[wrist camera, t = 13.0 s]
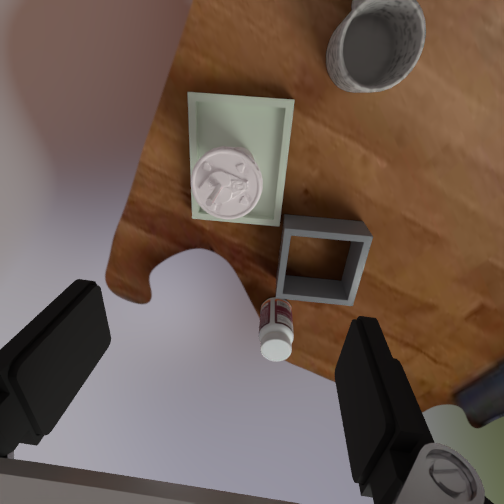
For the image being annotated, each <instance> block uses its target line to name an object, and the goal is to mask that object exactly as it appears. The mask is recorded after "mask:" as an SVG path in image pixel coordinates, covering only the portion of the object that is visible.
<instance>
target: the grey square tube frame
mask: <svg viewBox="0 0 504 504" xmlns="http://www.w3.org/2000/svg"><path fill="white" fill-rule="evenodd" d="M291 235H292V236H303V237H313V238H324V239H335V240H345V241H351V245H350V249H349V253H348V256H347V260H346V264H345V268H344V272H343V276H342V280H341V281H339V280H329V279H319V278H309V277H299V276H289V275H285V273H286V266H287V259H288V252H289V245H290V238H291ZM372 238H373V236H372V234H371V233H370V231H369V230H368V228H367V227H366V225H365V224H364V222H363V221H354V220H343V219H332V218H321V217H310V216H299V215H288V214H284V220H283V227H282V235H281V243H280V251H279V259H278V267H277V275H276V298H280V299H290V300H300V301H309V302H319V303H329V304H338V305H348V306H353V303H354V300H355V296H356V293H357V289H358V286H359V283H360V279H361V276H362V272H363V269H364V266H365V262H366V259H367V255H368V252H369V249H370V245H371V242H372Z"/></svg>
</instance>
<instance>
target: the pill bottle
mask: <svg viewBox="0 0 504 504" xmlns="http://www.w3.org/2000/svg"><path fill="white" fill-rule="evenodd" d="M259 340H260V342H261V348H260V350H261V354H262V355H263V356H264V357H265V358H266V359H268V360H271V361H282V360H285V359H287V358H288V357H289V356H290V354H291V343H292V341H293V322H292V309H291V305H290V304H289V302H288V301H286V300H285V299H280V298H276V297H273V298H269V299H267V300H266V301H265V302H264V303H263V304H262V306H261V312H260V326H259Z"/></svg>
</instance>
